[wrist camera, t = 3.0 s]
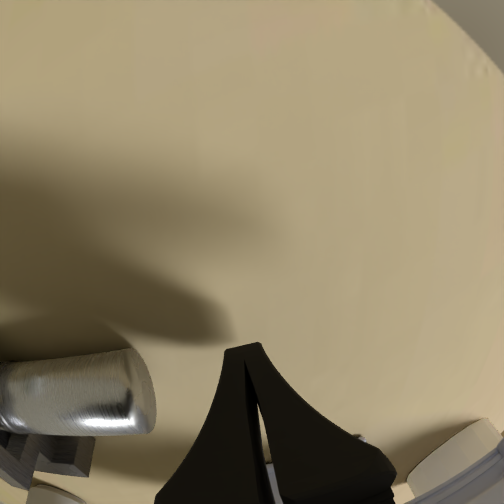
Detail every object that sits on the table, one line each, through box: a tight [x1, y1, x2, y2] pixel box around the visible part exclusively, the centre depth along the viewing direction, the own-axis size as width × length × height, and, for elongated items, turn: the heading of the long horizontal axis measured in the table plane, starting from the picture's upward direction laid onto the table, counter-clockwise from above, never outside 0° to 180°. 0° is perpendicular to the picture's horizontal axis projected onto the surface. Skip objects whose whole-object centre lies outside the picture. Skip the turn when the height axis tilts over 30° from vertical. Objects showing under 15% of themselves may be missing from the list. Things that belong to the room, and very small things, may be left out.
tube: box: [0, 348, 156, 436], centre depth 10 cm, size 12×4×4 cm, turn 100°
